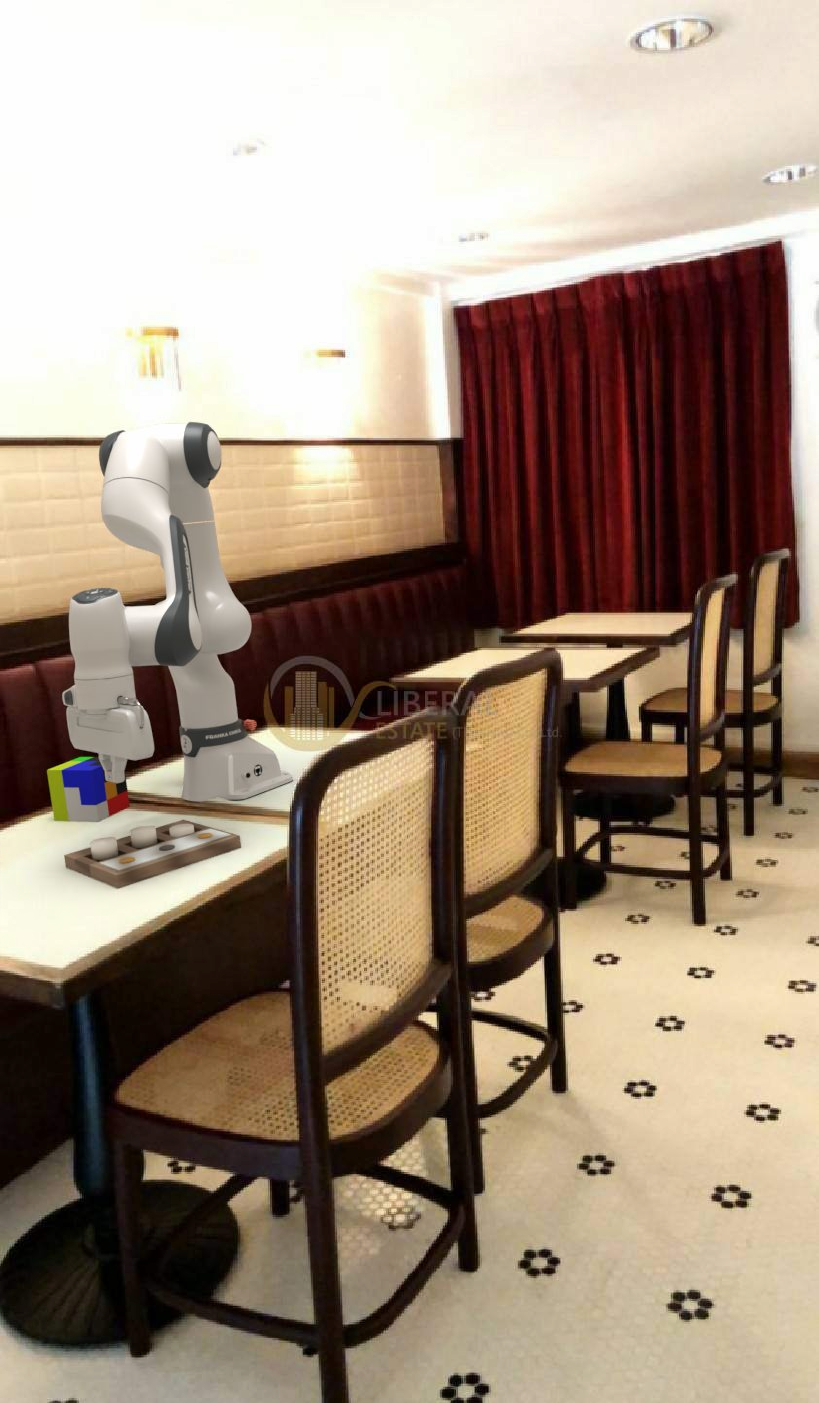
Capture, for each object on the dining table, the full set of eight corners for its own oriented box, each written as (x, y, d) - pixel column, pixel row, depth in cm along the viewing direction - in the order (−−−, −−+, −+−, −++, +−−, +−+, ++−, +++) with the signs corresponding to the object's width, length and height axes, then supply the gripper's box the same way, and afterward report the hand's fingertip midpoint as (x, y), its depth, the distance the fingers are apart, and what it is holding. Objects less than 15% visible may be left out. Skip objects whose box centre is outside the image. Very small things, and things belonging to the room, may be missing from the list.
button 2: (187, 836, 184) (185, 822, 183) (200, 840, 181) (198, 826, 180) (166, 842, 181) (164, 828, 180) (179, 847, 178) (177, 832, 178)
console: (185, 836, 188) (183, 816, 187) (241, 853, 176) (239, 832, 175) (66, 873, 173) (63, 852, 173) (119, 894, 161) (116, 872, 160)
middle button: (149, 838, 179) (147, 824, 178) (162, 842, 176) (160, 828, 175) (127, 845, 176) (125, 830, 175) (140, 849, 173) (138, 834, 173)
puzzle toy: (98, 822, 202) (91, 770, 200) (54, 821, 206) (46, 770, 204) (129, 807, 211) (123, 757, 209) (87, 806, 215) (79, 756, 213)
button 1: (110, 850, 174) (108, 835, 174) (123, 854, 171) (121, 839, 171) (87, 857, 171) (85, 842, 171) (99, 862, 168) (97, 846, 168)
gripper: (159, 695, 163) (168, 785, 165) (92, 687, 178) (101, 770, 180) (121, 702, 159) (131, 794, 161) (56, 693, 173) (66, 778, 176)
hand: (115, 781), depth 171 cm, fingers closed
